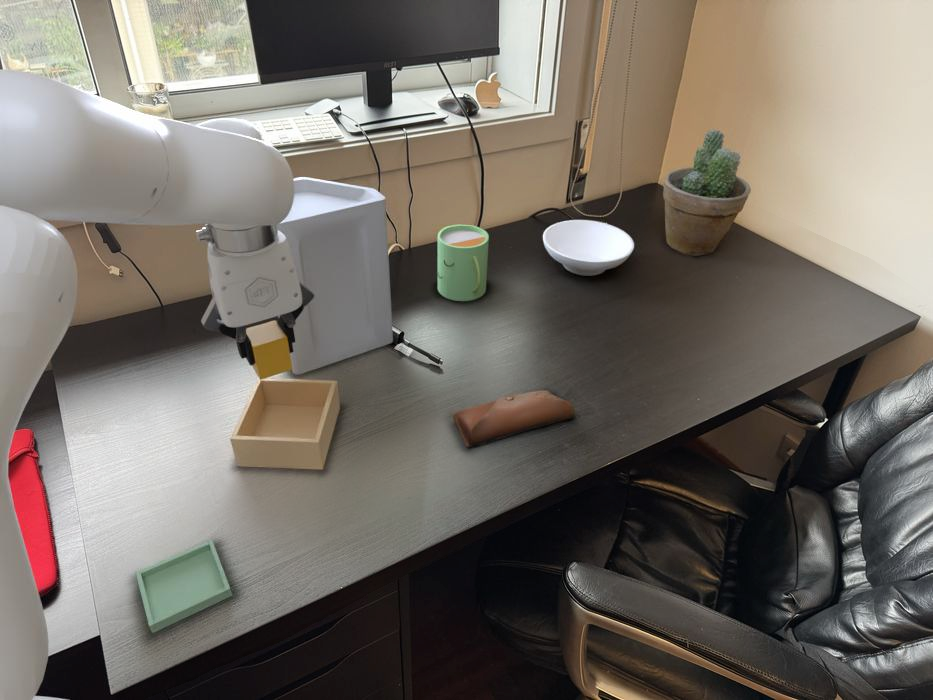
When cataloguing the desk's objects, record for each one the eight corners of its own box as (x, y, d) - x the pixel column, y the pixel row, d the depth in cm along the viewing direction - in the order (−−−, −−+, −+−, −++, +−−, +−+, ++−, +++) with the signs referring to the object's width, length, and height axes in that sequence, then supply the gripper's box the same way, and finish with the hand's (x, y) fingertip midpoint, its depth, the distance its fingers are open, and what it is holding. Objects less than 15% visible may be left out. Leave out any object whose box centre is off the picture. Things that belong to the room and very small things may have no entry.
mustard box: (260, 380, 85) (252, 347, 81) (249, 362, 88) (242, 329, 84) (292, 369, 87) (287, 336, 83) (281, 351, 90) (275, 319, 86)
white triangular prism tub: (359, 303, 127) (347, 167, 110) (394, 341, 117) (387, 198, 100) (265, 332, 118) (237, 189, 101) (295, 376, 108) (268, 225, 91)
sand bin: (322, 470, 92) (318, 442, 88) (237, 466, 92) (229, 438, 89) (340, 407, 102) (336, 380, 99) (263, 404, 103) (257, 377, 99)
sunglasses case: (548, 387, 107) (562, 372, 101) (563, 425, 105) (579, 413, 99) (449, 414, 101) (458, 400, 95) (463, 455, 99) (473, 444, 93)
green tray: (152, 633, 72) (148, 626, 71) (138, 579, 77) (135, 572, 76) (232, 595, 76) (230, 588, 75) (214, 546, 81) (212, 539, 80)
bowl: (523, 256, 144) (525, 229, 140) (593, 240, 152) (597, 213, 147) (572, 298, 130) (576, 269, 126) (647, 278, 138) (653, 250, 134)
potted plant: (746, 260, 146) (782, 153, 131) (673, 267, 142) (701, 158, 127) (705, 224, 160) (733, 124, 145) (637, 230, 156) (658, 128, 141)
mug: (428, 282, 134) (427, 230, 127) (472, 271, 138) (474, 220, 131) (454, 312, 125) (455, 258, 118) (500, 300, 129) (504, 247, 122)
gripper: (176, 262, 69) (212, 390, 80) (324, 227, 76) (338, 348, 87) (161, 234, 73) (197, 358, 85) (301, 204, 81) (317, 321, 92)
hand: (268, 352), depth 86 cm, fingers closed on mustard box, 4 cm apart
